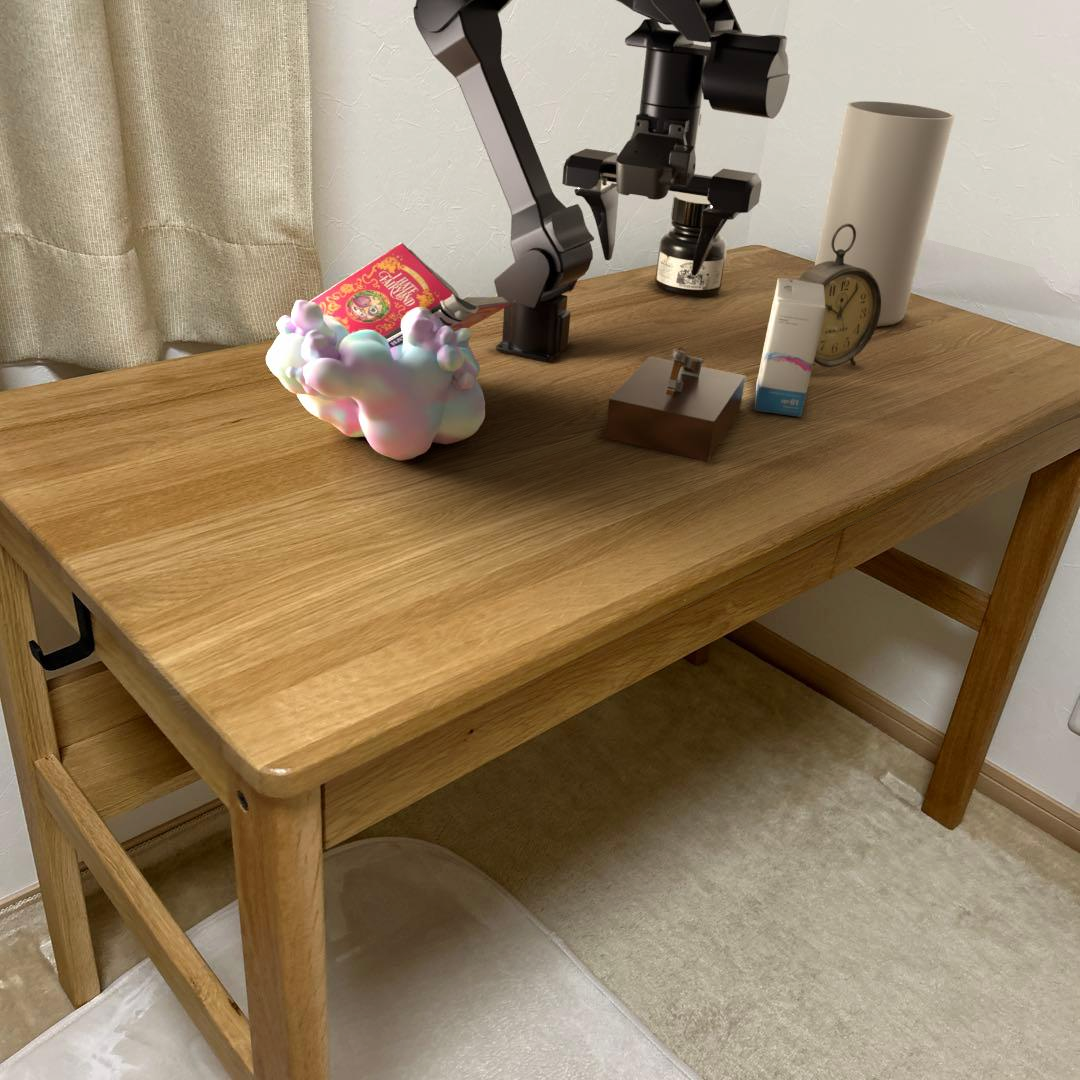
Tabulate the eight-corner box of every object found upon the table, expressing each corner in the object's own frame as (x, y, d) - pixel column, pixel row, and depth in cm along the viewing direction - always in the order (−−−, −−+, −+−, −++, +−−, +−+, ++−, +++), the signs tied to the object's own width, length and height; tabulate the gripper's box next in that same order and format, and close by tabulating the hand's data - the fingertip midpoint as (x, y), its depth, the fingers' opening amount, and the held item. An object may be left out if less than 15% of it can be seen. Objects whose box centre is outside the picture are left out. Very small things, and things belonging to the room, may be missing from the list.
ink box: (803, 419, 108) (827, 305, 102) (753, 412, 109) (774, 298, 103) (802, 388, 116) (824, 280, 110) (756, 382, 116) (775, 274, 110)
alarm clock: (794, 382, 117) (824, 233, 109) (764, 365, 121) (790, 219, 113) (869, 371, 122) (904, 227, 114) (838, 354, 126) (869, 214, 118)
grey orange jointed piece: (657, 392, 99) (669, 343, 98) (675, 398, 106) (686, 353, 106) (676, 396, 98) (688, 347, 98) (692, 402, 106) (703, 356, 105)
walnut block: (604, 438, 101) (609, 398, 99) (645, 392, 112) (650, 355, 110) (707, 461, 98) (714, 421, 96) (739, 412, 109) (745, 375, 107)
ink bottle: (648, 293, 142) (660, 201, 136) (653, 275, 149) (664, 186, 143) (722, 302, 141) (737, 209, 134) (723, 283, 148) (737, 194, 142)
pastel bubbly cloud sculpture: (261, 438, 85) (375, 244, 80) (221, 335, 102) (314, 169, 97) (462, 523, 97) (573, 358, 92) (397, 418, 113) (488, 274, 109)
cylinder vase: (841, 292, 148) (882, 99, 136) (921, 317, 141) (973, 115, 128) (787, 306, 141) (826, 103, 128) (869, 334, 133) (919, 121, 121)
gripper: (547, 100, 97) (536, 270, 105) (749, 127, 92) (721, 304, 100) (589, 88, 107) (575, 245, 114) (774, 112, 101) (747, 275, 109)
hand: (650, 267), depth 109 cm, fingers open, 9 cm apart
